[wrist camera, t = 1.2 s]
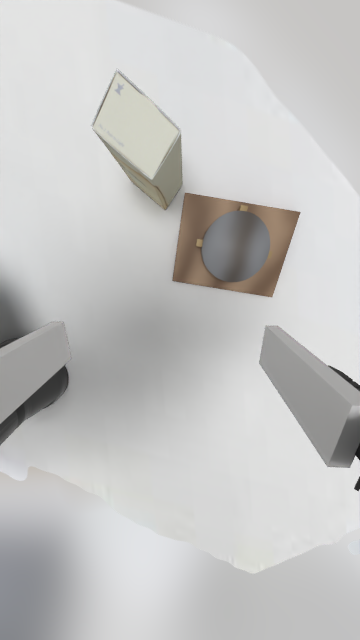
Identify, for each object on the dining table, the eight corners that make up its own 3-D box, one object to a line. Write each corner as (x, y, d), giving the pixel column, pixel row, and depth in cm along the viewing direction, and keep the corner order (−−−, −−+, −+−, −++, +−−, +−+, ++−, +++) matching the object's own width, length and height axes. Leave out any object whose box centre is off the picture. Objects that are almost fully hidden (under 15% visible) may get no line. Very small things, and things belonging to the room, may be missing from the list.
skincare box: (130, 181, 26) (86, 126, 15) (148, 149, 25) (114, 62, 14) (166, 212, 27) (150, 182, 16) (185, 183, 26) (182, 128, 15)
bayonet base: (173, 279, 31) (171, 283, 27) (185, 195, 27) (184, 186, 23) (269, 295, 31) (279, 301, 27) (295, 213, 27) (311, 207, 23)
